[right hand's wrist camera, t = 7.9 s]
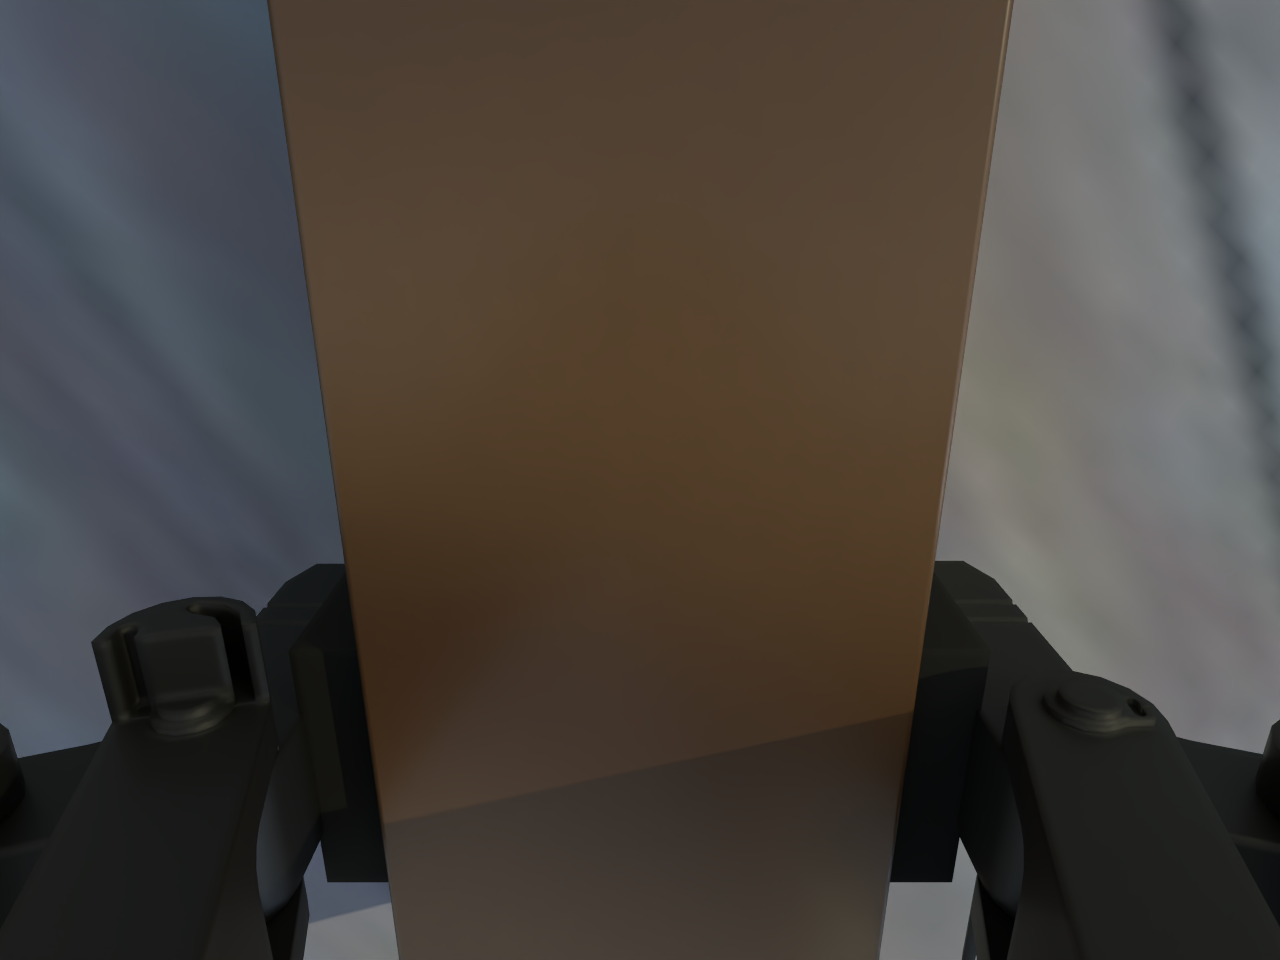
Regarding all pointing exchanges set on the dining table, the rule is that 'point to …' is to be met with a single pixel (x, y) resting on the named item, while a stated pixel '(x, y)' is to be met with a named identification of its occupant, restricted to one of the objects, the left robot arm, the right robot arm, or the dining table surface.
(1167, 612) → the dining table surface
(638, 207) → the post
